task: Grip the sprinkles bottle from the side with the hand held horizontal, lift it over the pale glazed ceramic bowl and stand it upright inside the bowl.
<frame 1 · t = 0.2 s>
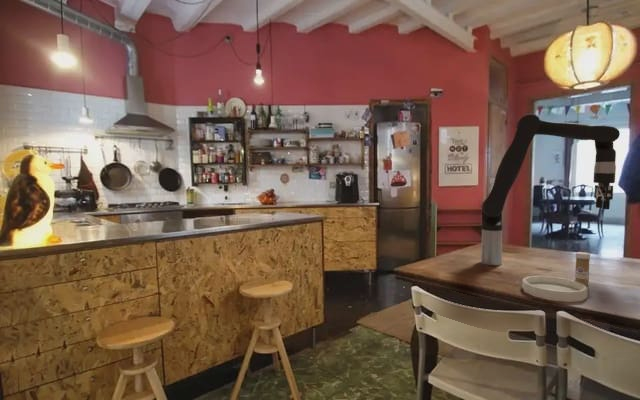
hand: (602, 208, 160), 29 cm above the table, tool pointing down, fingers open, 8 cm apart
sprinkles bottle: (581, 286, 143), on the table
bowl: (553, 292, 136), on the table
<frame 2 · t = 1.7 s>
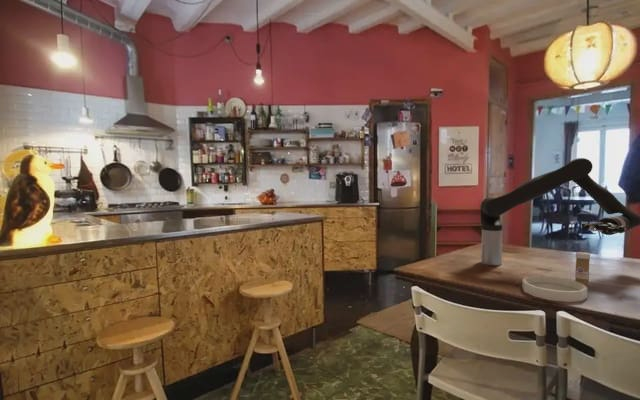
hand: (595, 229, 147), 22 cm above the table, tool horizontal, fingers open, 8 cm apart
nothing on the table moved.
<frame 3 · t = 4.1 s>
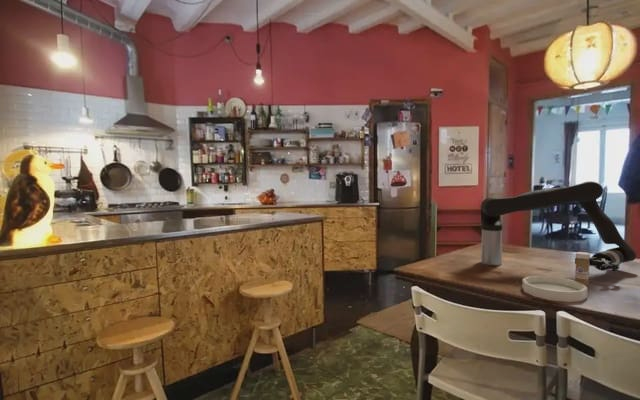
hand: (589, 265, 145), 7 cm above the table, tool horizontal, fingers open, 8 cm apart
nothing on the table moved.
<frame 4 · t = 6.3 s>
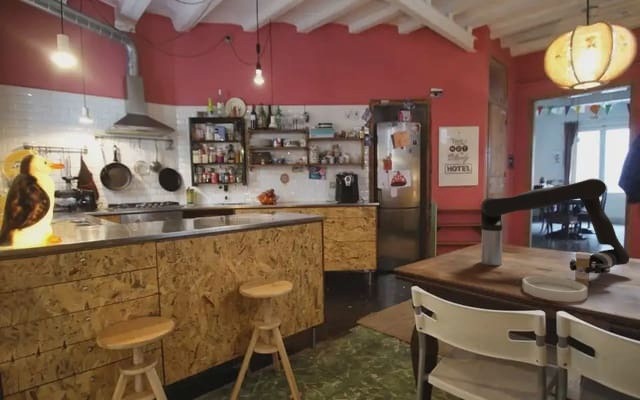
hand: (579, 269, 141), 7 cm above the table, tool horizontal, fingers closed on sprinkles bottle, 4 cm apart
sprinkles bottle: (581, 286, 143), on the table, touching gripper
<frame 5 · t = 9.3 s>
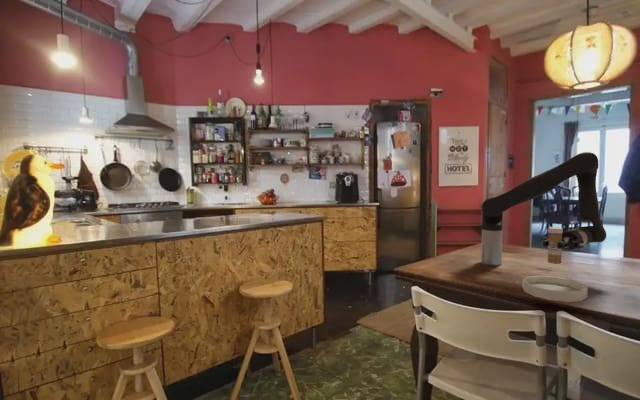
hand: (551, 244, 133), 19 cm above the table, tool horizontal, fingers closed on sprinkles bottle, 4 cm apart
sprinkles bottle: (554, 263, 135), point 11 cm above the table, touching gripper
when the fingers open (9 cm above the table, at t = 12.2 s): sprinkles bottle drops 1 cm, resting on bowl.
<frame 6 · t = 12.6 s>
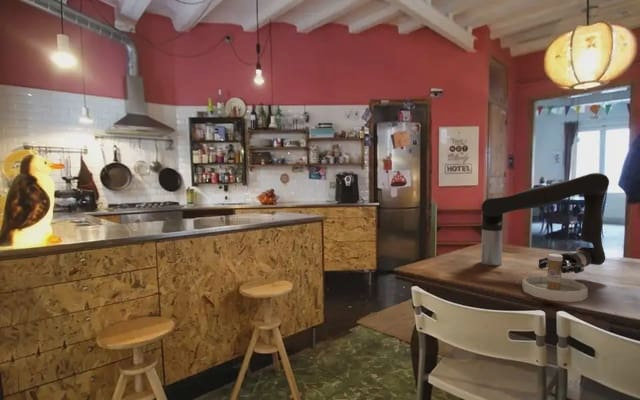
hand: (551, 268, 134), 10 cm above the table, tool horizontal, fingers open, 7 cm apart
sprinkles bottle: (553, 290, 136), point 1 cm above the table, touching bowl
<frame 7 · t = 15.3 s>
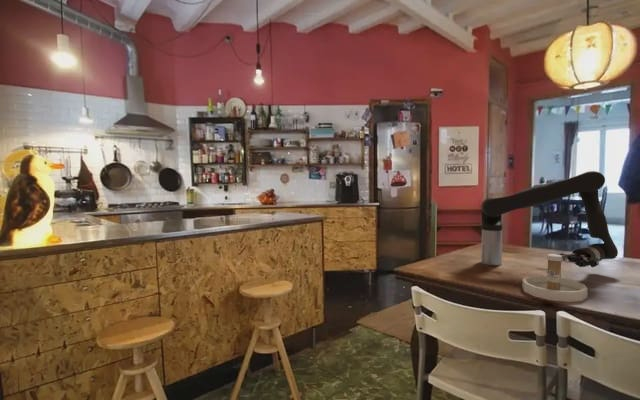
hand: (567, 262, 141), 10 cm above the table, tool horizontal, fingers open, 8 cm apart
nothing on the table moved.
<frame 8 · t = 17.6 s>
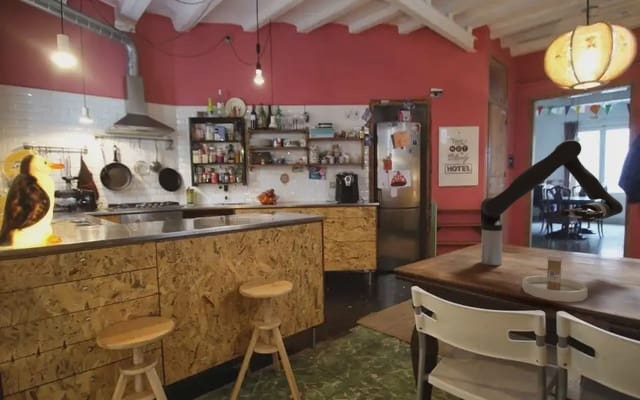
hand: (574, 215, 145), 28 cm above the table, tool horizontal, fingers open, 8 cm apart
nothing on the table moved.
at the end: sprinkles bottle inside the target area on the bowl (0.1 cm from its centre), point 0.8 cm above the bowl's base; sprinkles bottle tilted 0°; the gripper is holding nothing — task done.
